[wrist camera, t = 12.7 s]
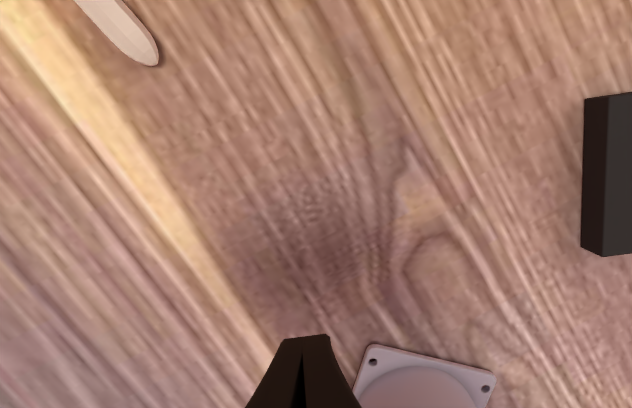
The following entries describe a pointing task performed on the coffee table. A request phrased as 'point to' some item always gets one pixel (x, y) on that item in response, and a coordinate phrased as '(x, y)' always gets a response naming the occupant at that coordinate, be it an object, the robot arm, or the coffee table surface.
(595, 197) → the graphite pad
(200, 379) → the coffee table surface
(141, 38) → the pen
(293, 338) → the robot arm
